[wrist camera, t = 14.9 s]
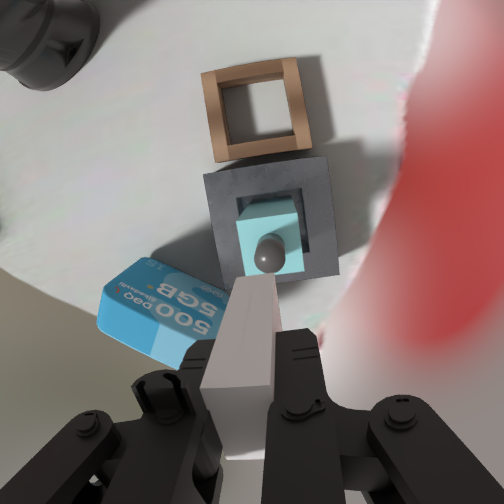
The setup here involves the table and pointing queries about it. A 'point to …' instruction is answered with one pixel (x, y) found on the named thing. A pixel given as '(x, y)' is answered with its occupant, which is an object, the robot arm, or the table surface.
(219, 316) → the data package
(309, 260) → the port block
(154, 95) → the table surface
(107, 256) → the table surface
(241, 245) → the plug
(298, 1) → the table surface
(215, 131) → the square wooden frame
